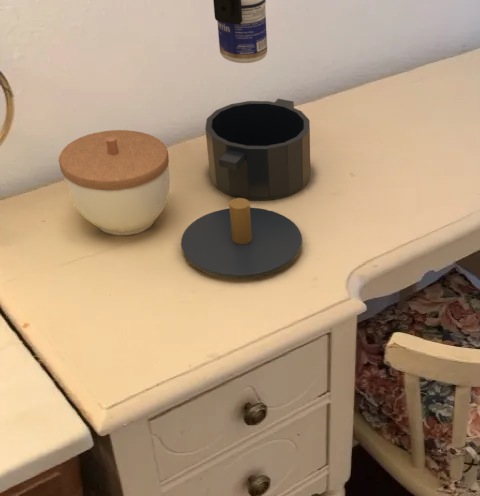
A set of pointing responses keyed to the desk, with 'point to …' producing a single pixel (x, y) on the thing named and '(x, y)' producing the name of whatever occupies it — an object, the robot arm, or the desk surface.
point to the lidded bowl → (117, 179)
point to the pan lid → (241, 241)
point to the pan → (259, 149)
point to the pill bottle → (245, 34)
